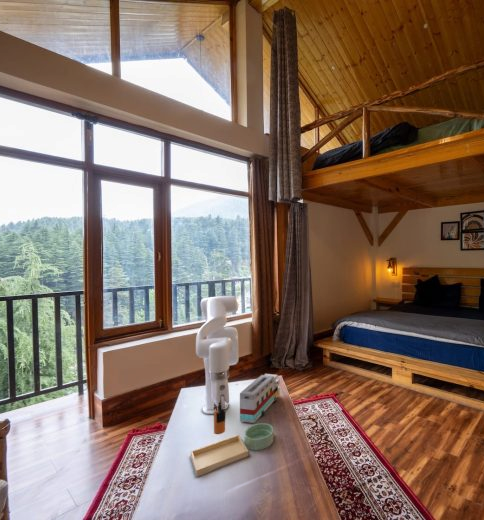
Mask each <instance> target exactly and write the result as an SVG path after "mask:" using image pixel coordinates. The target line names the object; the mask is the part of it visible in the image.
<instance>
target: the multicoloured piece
mask: <svg viewBox="0 0 484 520" xmlns="http://www.w3.org/2000/svg"><path fill="white" fill-rule="evenodd" d="M278 377H279V375H278V374H274V373H273V374H272V373H264V374H261V375H260V376H258V377H257V378H256V379H255V380H254V381H253V382H251V383H250V384H249V385H248V386H247V387H245V388H244V389H243V390H242V391H240V392H239V422H243V423H250V424H255V423H256V422H257V420H259V418H260V417H263V416H264V415H265V411H267V410H268V408H269V407H270V406H271V405H272V404H275V403H276V401H277V398H278V397H279V396H280V393H281V392H280V391H281V389H280V387H279V385H280V383H281V382H280V380H281V379H279V378H278Z"/></svg>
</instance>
